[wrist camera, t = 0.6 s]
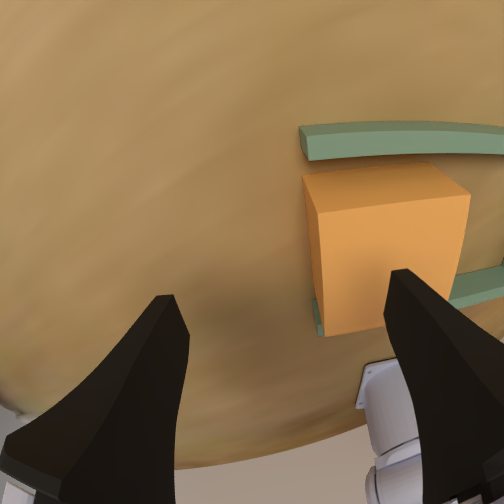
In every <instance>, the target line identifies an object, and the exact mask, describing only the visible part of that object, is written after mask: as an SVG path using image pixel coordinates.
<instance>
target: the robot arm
mask: <svg viewBox="0 0 504 504" xmlns="http://www.w3.org/2000/svg"><path fill="white" fill-rule="evenodd" d="M383 316H384V320H385V324H386V328H387V332H388V335H389V339H390V342H391V345H392V347H393V350H394V352H395V355H396V359H391V360H386V361H382V362H377V363H372V364H368V365H366V366H365V369H364V373H363V377H362V381H361V385H360V389H359V393H358V397H357V401H356V405H355V407H356V409H361V408H364V411H365V415H366V420H367V425H368V429H369V435H370V439H371V445H372V448H373V450H374V452H375V453H376V455H377V456H378V457H377V458H375V465H376V466H373V467H371V468H370V470H369V472H368V474H367V476H366V481H365V482H366V483H365V490H366V498H367V502H368V504H504V344H503V343H502V342H500V341H499V340H497V339H496V338H495V337H493V336H492V335H490V334H489V333H487V332H486V331H484V330H483V329H482V328H480V327H479V326H478V325H476V324H475V323H474V322H472V321H471V320H470V319H469V318H467V317H466V316H465V315H463V314H462V313H461V312H460V311H459V310H457V309H456V308H455V307H454V306H452V305H451V304H450V303H449V302H448V301H446V300H445V299H444V298H443V297H442V296H441V295H439V294H438V293H437V292H436V291H435V290H434V289H432V288H431V287H430V286H429V285H428V284H426V283H425V282H424V281H423V280H422V279H420V278H419V277H418V276H417V275H416V274H414V273H413V272H412V271H411V270H409V269H408V268H405V269H398V270H391V276H390V281H389V287H388V292H387V297H386V303H385V307H384V312H383ZM189 341H190V334H189V332H188V330H187V327H186V325H185V322H184V320H183V318H182V315H181V313H180V310H179V308H178V305H177V303H176V300H175V298H174V295H173V294H172V295H159V296H156V297H155V298H154V299H153V301H152V302H151V303H150V304H149V305H148V307H147V308H146V309H145V310H144V312H143V313H142V314H141V315H140V317H139V318H138V319H137V320H136V322H135V323H134V324H133V325H132V327H131V328H130V329H129V330H128V332H127V333H126V334H125V335H124V337H123V338H122V339H121V340H120V341H119V343H118V344H117V345H116V346H115V347H114V348H113V349H112V351H111V352H110V353H109V354H108V355H107V356H106V357H105V359H104V360H103V361H102V362H101V363H100V364H99V365H98V366H97V367H96V368H95V369H94V370H93V372H92V373H91V374H90V375H88V376H87V377H86V378H85V379H84V380H83V381H82V382H81V383H80V384H79V385H78V386H77V387H76V388H75V389H73V390H72V391H71V392H70V393H69V394H68V395H66V396H65V397H64V398H63V399H62V400H61V401H59V402H58V403H57V404H56V405H54V406H53V407H52V408H50V409H49V410H48V411H46V412H45V413H43V414H42V415H40V416H39V417H38V418H36V419H35V420H33V421H31V422H30V423H28V424H27V425H25V426H23V427H21V428H20V429H18V430H16V431H14V432H13V433H11V434H9V435H7V437H6V439H5V442H4V446H3V449H2V451H1V455H0V470H1V471H2V472H4V473H6V474H7V475H9V476H11V477H13V478H14V479H16V480H18V481H20V482H22V483H24V484H25V485H27V486H29V487H31V488H33V489H35V490H36V494H35V495H33V494H31V493H30V492H28V491H26V490H24V489H22V488H20V487H18V486H17V485H15V484H13V483H11V482H7V484H6V488H5V492H4V496H3V500H2V504H176V502H175V488H174V487H175V486H174V449H175V431H176V422H177V415H178V410H179V404H180V399H181V394H182V389H183V384H184V379H185V374H186V369H187V364H188V355H189Z"/></svg>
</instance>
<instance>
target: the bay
mask: <svg viewBox="0 0 504 504" xmlns="http://www.w3.org/2000/svg"><path fill="white" fill-rule="evenodd" d="M299 132H300V141H301V148H302V150H303V152H304V153H305V155H306V157H307V158H308V160H309V161H313V160H323V159H334V158H345V157H358V156H373V155H392V154H418V153H482V154H504V127H498V126H489V125H479V124H467V123H452V122H429V121H374V122H350V123H334V124H321V125H309V126H299ZM501 296H504V259H503V262H502V265H500V266H496V267H492V268H488V269H483V270H479V271H474V272H470V273H465V274H460V275H456V276H455V277H454V281H453V285H452V288H451V292H450V295H449V299H448V302H449V303H450V304H451V305H452V306H454V307H455V308H456V309H459V308H463V307H467V306H470V305H474V304H477V303H481V302H484V301H488V300H491V299H495V298H498V297H501ZM313 314H314V319H315V324H316V330H317V335H318V336H324V331H323V326H322V321H321V317H320V312H319V307H318V303H317V299H315V300H313Z"/></svg>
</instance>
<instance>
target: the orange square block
mask: <svg viewBox="0 0 504 504" xmlns="http://www.w3.org/2000/svg"><path fill="white" fill-rule="evenodd" d="M302 178H303V186H304V194H305V203H306V212H307V221H308V230H309V240H310V250H311V261H312V272H313V285H314V289H315V294H316V298H317V303H318V307H319V312H320V317H321V321H322V326H323V331H324V336H325V337H329V336H335V335H341V334H347V333H352V332H357V331H363V330H368V329H373V328H378V327H383V326H386V324H385V320H384V316H383V312H384V307H385V303H386V297H387V292H388V287H389V281H390V276H391V270H398V269H405V268H408V269H409V270H411V271H412V272H413V273H414V274H416V275H417V276H418V277H419V278H420V279H422V280H423V281H424V282H425V283H426V284H428V285H429V286H430V287H431V288H432V289H434V290H435V291H436V292H437V293H438V294H439V295H441V296H442V297H443V298H444V299H445V300H446V301H448V299H449V295H450V292H451V288H452V285H453V281H454V277H455V274H456V270H457V266H458V262H459V257H460V253H461V249H462V244H463V239H464V234H465V229H466V223H467V217H468V211H469V205H470V198H471V194H470V193H469V192H467V191H466V190H465V189H463V188H462V187H461V186H460V185H458V184H457V183H456V182H454V181H453V180H452V179H450V178H449V177H448V176H446V175H445V174H443V173H442V172H441V171H439V170H438V169H436V168H435V167H434V166H432V165H431V164H429V163H428V162H422V163H409V164H396V165H385V166H375V167H365V168H356V169H347V170H339V171H331V172H323V173H316V174H308V175H302Z"/></svg>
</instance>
